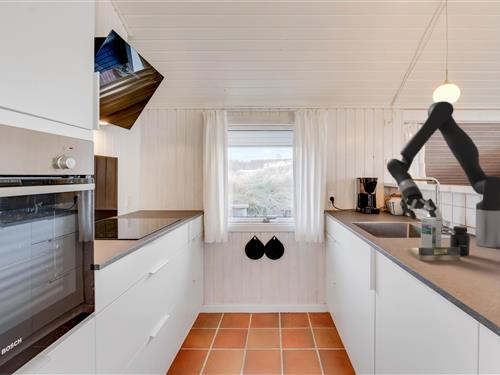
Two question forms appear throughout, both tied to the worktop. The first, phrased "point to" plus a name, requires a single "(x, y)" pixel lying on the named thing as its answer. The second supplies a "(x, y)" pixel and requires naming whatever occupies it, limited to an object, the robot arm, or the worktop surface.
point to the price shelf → (434, 253)
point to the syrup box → (430, 232)
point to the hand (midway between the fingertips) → (424, 218)
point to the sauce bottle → (437, 215)
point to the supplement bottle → (460, 240)
